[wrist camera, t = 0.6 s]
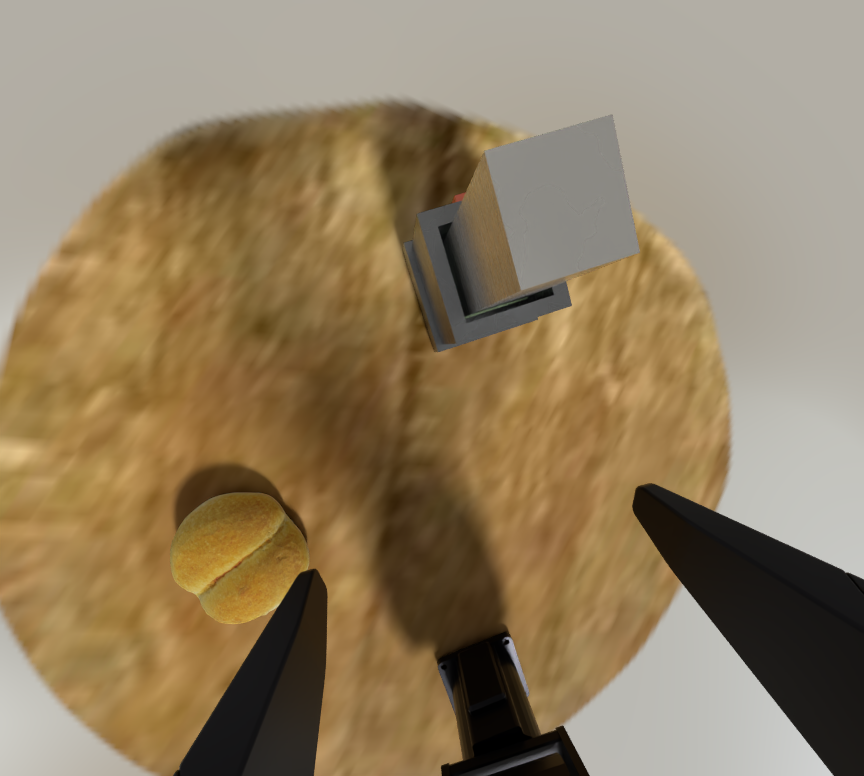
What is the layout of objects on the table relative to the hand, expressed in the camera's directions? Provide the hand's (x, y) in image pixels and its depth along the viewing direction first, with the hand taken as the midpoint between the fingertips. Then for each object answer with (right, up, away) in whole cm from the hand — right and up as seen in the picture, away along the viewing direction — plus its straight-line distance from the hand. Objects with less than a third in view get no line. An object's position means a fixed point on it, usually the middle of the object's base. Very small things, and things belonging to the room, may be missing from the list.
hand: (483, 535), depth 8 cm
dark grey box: (+1, +11, +14) cm, 18 cm away
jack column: (+1, +11, +12) cm, 16 cm away
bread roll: (-15, -8, +15) cm, 22 cm away
